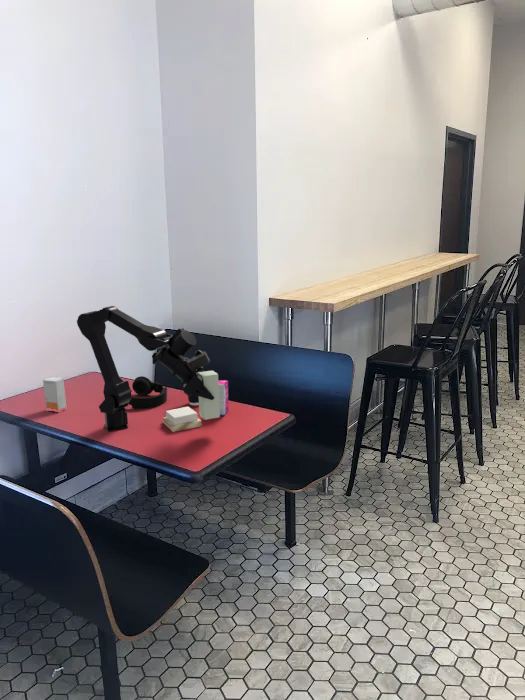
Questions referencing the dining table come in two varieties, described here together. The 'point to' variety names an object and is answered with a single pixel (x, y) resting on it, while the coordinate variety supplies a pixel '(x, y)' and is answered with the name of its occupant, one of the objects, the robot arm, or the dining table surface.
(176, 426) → the tower base slab
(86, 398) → the dining table surface
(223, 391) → the supplement box
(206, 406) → the tall block
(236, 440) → the dining table surface
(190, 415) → the tower top slab
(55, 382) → the skincare box
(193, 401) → the dixie cup
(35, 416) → the dining table surface
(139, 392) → the headphones
